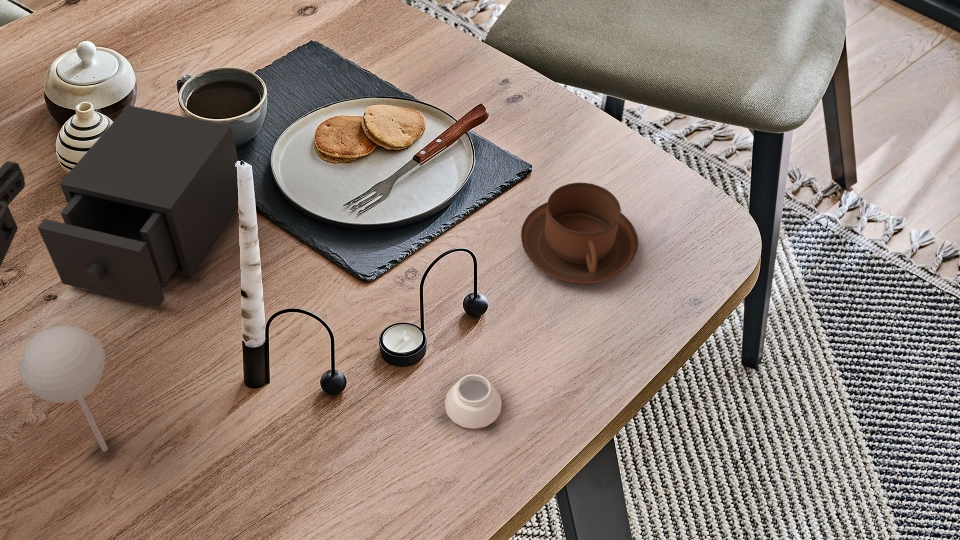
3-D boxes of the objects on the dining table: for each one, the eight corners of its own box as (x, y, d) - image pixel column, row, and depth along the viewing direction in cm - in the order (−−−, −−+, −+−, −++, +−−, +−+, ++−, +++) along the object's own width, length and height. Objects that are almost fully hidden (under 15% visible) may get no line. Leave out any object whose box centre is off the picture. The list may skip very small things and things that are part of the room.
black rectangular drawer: (152, 317, 90) (132, 260, 84) (55, 292, 91) (29, 236, 86) (213, 227, 98) (199, 170, 92) (123, 206, 100) (104, 149, 94)
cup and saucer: (658, 269, 97) (668, 227, 92) (557, 308, 93) (562, 266, 88) (595, 197, 104) (602, 154, 99) (499, 230, 100) (502, 187, 95)
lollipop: (150, 421, 83) (104, 310, 72) (131, 480, 79) (80, 373, 68) (79, 418, 83) (23, 307, 72) (57, 478, 79) (-6, 370, 68)
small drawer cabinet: (191, 278, 94) (170, 208, 87) (87, 253, 96) (59, 183, 89) (246, 196, 102) (231, 126, 95) (149, 174, 104) (128, 105, 97)
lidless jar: (464, 376, 87) (434, 414, 84) (464, 356, 85) (434, 395, 82) (511, 400, 85) (482, 440, 82) (512, 380, 83) (483, 421, 80)
